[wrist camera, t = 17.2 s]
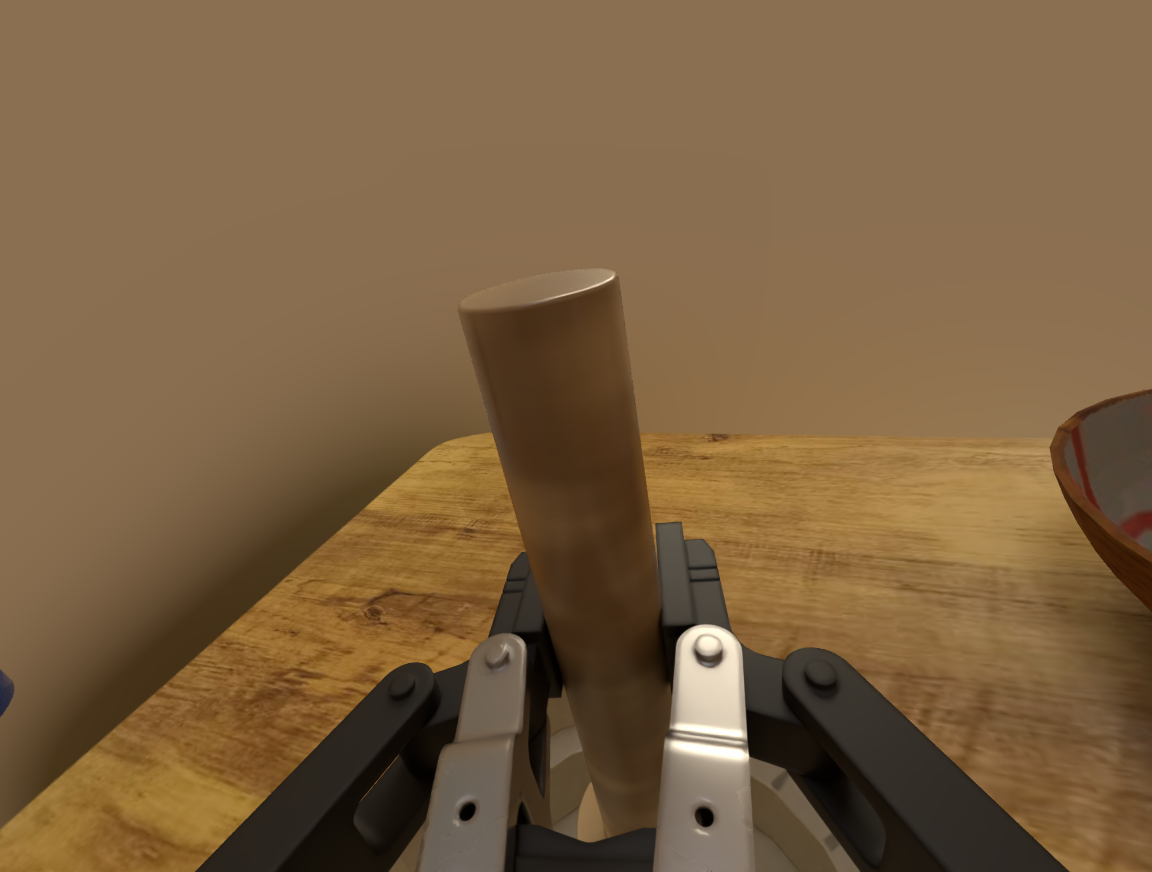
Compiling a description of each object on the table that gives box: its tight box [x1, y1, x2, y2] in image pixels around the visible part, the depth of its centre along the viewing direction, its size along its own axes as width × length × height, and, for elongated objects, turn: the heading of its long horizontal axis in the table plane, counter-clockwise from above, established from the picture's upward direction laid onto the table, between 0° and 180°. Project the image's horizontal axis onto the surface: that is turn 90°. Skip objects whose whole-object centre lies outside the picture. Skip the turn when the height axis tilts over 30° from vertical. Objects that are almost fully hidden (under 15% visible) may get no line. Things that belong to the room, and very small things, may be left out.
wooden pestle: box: [458, 269, 672, 842], centre depth 12 cm, size 4×4×18 cm
